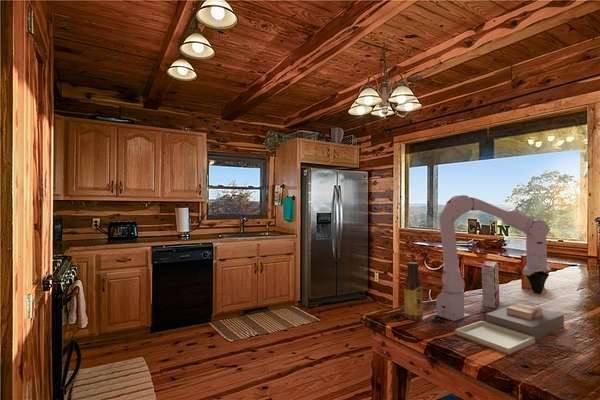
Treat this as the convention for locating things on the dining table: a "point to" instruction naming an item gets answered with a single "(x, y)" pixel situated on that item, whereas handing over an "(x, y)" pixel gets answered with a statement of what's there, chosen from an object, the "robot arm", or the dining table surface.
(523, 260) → the baking soda box
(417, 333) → the dining table surface
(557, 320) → the grey flat block
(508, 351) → the tray
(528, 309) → the tile
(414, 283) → the sauce bottle
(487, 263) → the candy bar box
